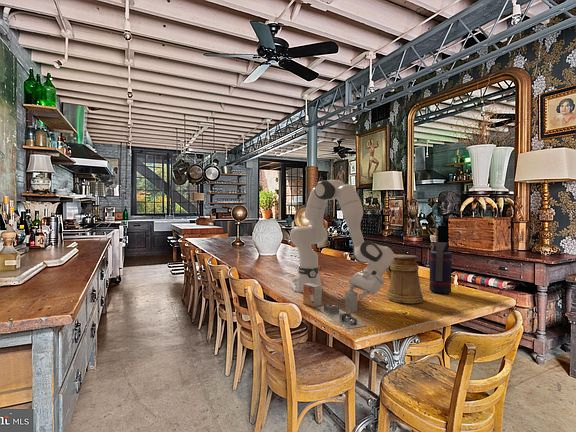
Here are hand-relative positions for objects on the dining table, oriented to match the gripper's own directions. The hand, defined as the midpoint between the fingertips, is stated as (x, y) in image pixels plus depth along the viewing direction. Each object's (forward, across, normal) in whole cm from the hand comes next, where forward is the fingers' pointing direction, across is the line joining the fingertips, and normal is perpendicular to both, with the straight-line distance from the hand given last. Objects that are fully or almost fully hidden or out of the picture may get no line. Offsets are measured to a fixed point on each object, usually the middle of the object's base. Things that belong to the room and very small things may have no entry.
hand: (354, 295), depth 163 cm
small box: (+16, -15, -6) cm, 23 cm away
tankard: (-20, -8, +30) cm, 37 cm away
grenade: (-42, -11, +52) cm, 67 cm away
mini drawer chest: (+6, 0, +4) cm, 7 cm away
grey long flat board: (+14, +6, -3) cm, 15 cm away
